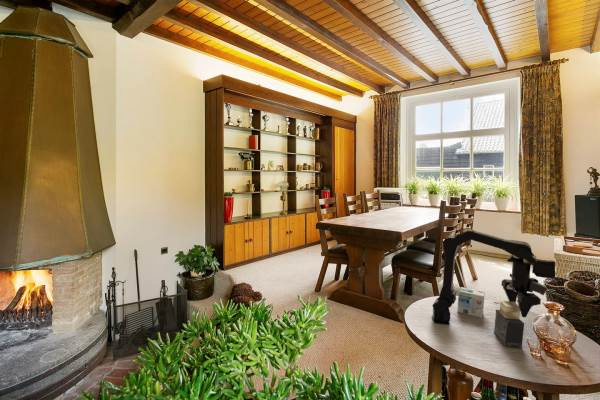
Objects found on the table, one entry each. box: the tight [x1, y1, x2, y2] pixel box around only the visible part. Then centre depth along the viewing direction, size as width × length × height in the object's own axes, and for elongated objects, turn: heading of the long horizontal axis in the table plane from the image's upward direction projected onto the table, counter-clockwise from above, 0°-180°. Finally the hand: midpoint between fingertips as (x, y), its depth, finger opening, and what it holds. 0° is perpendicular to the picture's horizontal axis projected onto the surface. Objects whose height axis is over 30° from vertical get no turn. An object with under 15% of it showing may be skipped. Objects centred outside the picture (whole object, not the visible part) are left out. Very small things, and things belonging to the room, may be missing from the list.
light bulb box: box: [456, 286, 486, 319], centre depth 145 cm, size 11×7×11 cm, turn 55°
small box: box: [493, 309, 525, 349], centre depth 121 cm, size 11×6×10 cm, turn 168°
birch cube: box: [499, 300, 521, 319], centre depth 121 cm, size 5×5×5 cm
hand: (518, 311), depth 120 cm, fingers open, 9 cm apart
